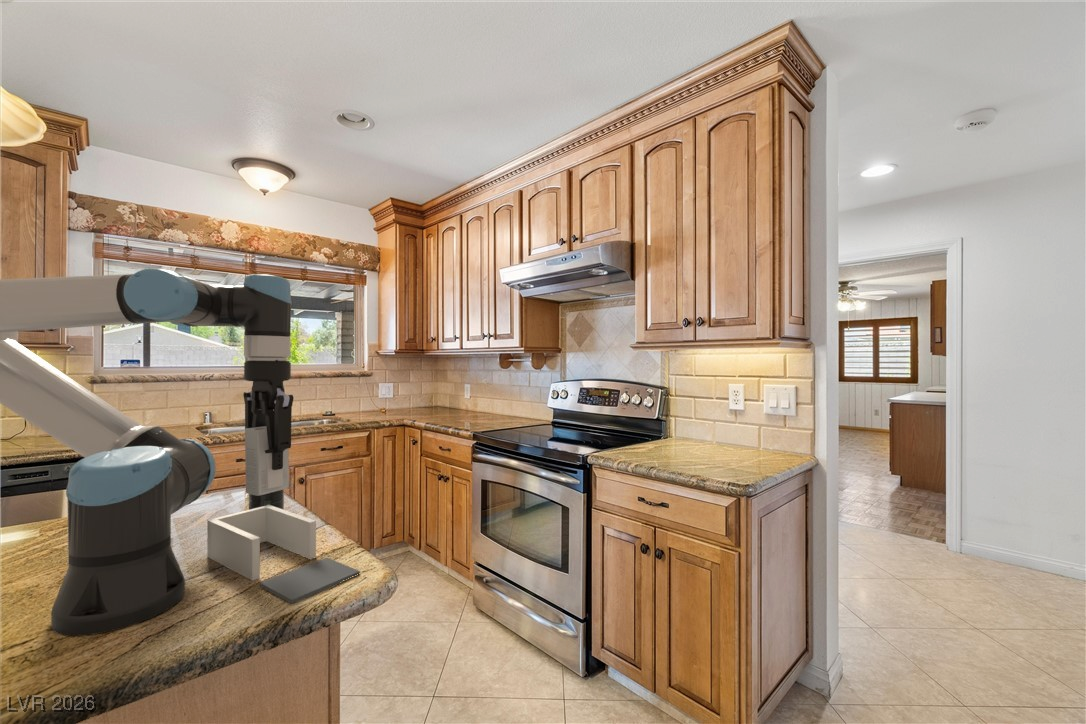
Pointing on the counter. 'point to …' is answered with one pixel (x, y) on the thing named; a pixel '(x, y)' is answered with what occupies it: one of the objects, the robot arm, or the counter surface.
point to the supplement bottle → (267, 500)
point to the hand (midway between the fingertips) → (267, 484)
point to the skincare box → (260, 462)
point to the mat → (308, 579)
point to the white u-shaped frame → (258, 537)
